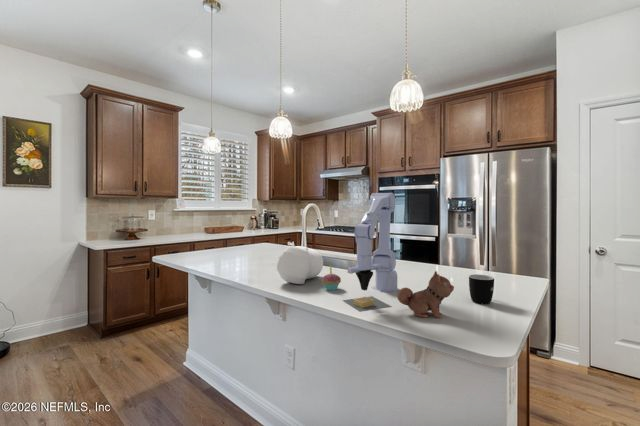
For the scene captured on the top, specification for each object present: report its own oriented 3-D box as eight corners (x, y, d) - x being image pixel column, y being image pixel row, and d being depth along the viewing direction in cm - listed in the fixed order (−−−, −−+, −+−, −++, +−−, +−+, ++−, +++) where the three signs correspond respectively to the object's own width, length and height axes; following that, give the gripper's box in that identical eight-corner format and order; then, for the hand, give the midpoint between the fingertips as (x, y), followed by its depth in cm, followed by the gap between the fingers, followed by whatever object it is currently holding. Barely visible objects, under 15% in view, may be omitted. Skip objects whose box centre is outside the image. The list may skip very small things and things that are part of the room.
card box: (364, 296, 124) (353, 299, 121) (374, 299, 120) (362, 302, 117) (364, 301, 124) (353, 304, 121) (374, 305, 120) (362, 308, 117)
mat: (372, 297, 131) (372, 296, 131) (392, 307, 118) (392, 306, 118) (342, 301, 126) (342, 300, 126) (359, 312, 113) (359, 311, 113)
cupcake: (339, 292, 138) (339, 265, 137) (320, 291, 140) (320, 264, 139) (341, 287, 146) (341, 262, 146) (324, 286, 148) (324, 261, 148)
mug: (493, 307, 119) (494, 280, 119) (467, 303, 123) (468, 278, 123) (493, 298, 130) (494, 274, 129) (469, 295, 134) (469, 272, 134)
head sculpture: (296, 242, 178) (275, 239, 152) (330, 250, 172) (314, 248, 145) (288, 276, 176) (266, 278, 150) (322, 285, 170) (305, 289, 144)
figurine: (457, 321, 105) (458, 276, 105) (398, 317, 109) (398, 274, 108) (450, 310, 115) (450, 270, 115) (396, 307, 118) (396, 268, 118)
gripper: (372, 251, 128) (371, 284, 129) (343, 255, 121) (342, 289, 121) (383, 254, 122) (383, 288, 123) (354, 257, 115) (353, 294, 115)
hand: (364, 289), depth 122 cm, fingers closed
